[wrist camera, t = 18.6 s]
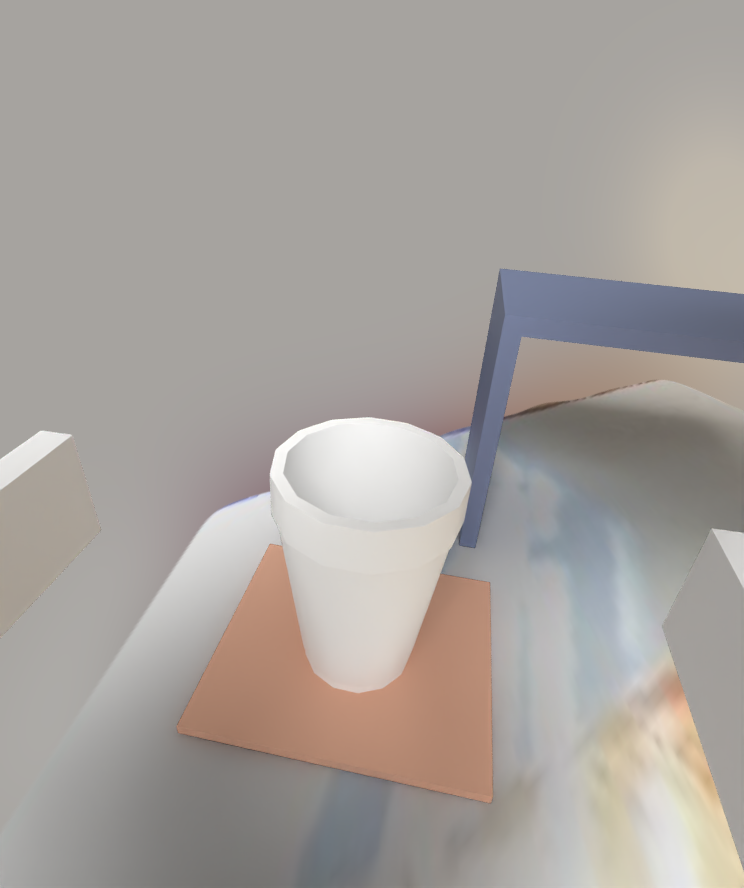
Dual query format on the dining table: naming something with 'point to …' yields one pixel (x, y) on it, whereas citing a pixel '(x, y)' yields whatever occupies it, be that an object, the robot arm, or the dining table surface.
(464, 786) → the mat
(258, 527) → the dining table surface
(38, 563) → the robot arm
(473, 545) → the rectangular arch
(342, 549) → the foam cup
